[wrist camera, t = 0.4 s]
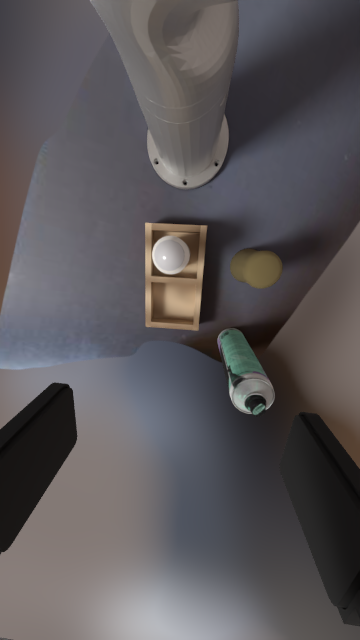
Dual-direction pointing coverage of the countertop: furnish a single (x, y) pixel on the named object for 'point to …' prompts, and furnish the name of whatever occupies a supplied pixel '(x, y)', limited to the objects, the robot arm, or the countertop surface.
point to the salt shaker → (170, 254)
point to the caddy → (175, 279)
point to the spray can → (244, 374)
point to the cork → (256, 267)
